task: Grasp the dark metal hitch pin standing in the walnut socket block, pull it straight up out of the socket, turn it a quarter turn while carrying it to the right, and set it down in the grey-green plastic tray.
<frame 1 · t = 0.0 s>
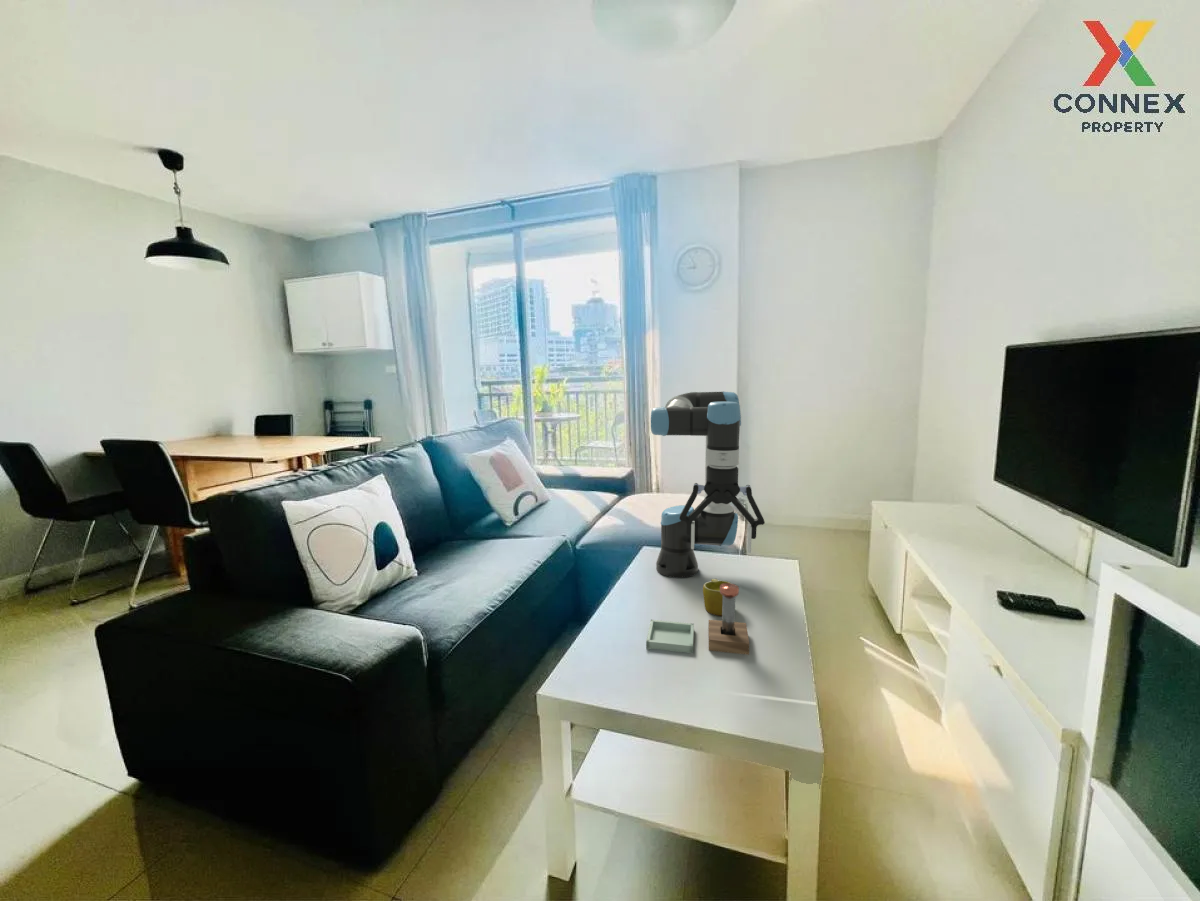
hand: (720, 549, 117), 28 cm above the table, fingers open, 13 cm apart
mug: (718, 608, 143), on the table
hitch pin: (727, 641, 125), resting on socket block
socket block: (727, 643, 125), on the table
tray: (670, 640, 126), on the table
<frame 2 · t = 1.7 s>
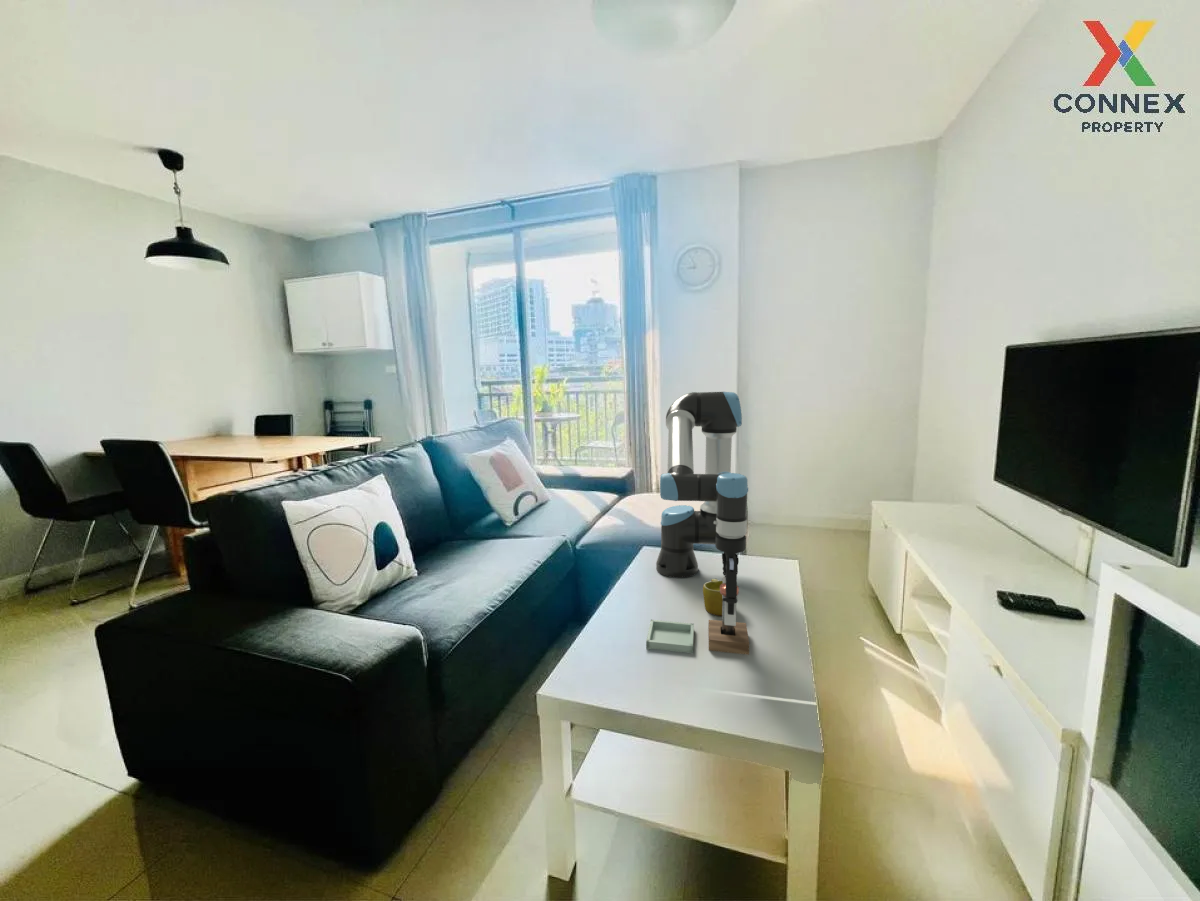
hand: (728, 611, 123), 9 cm above the table, fingers open, 13 cm apart
nothing on the table moved.
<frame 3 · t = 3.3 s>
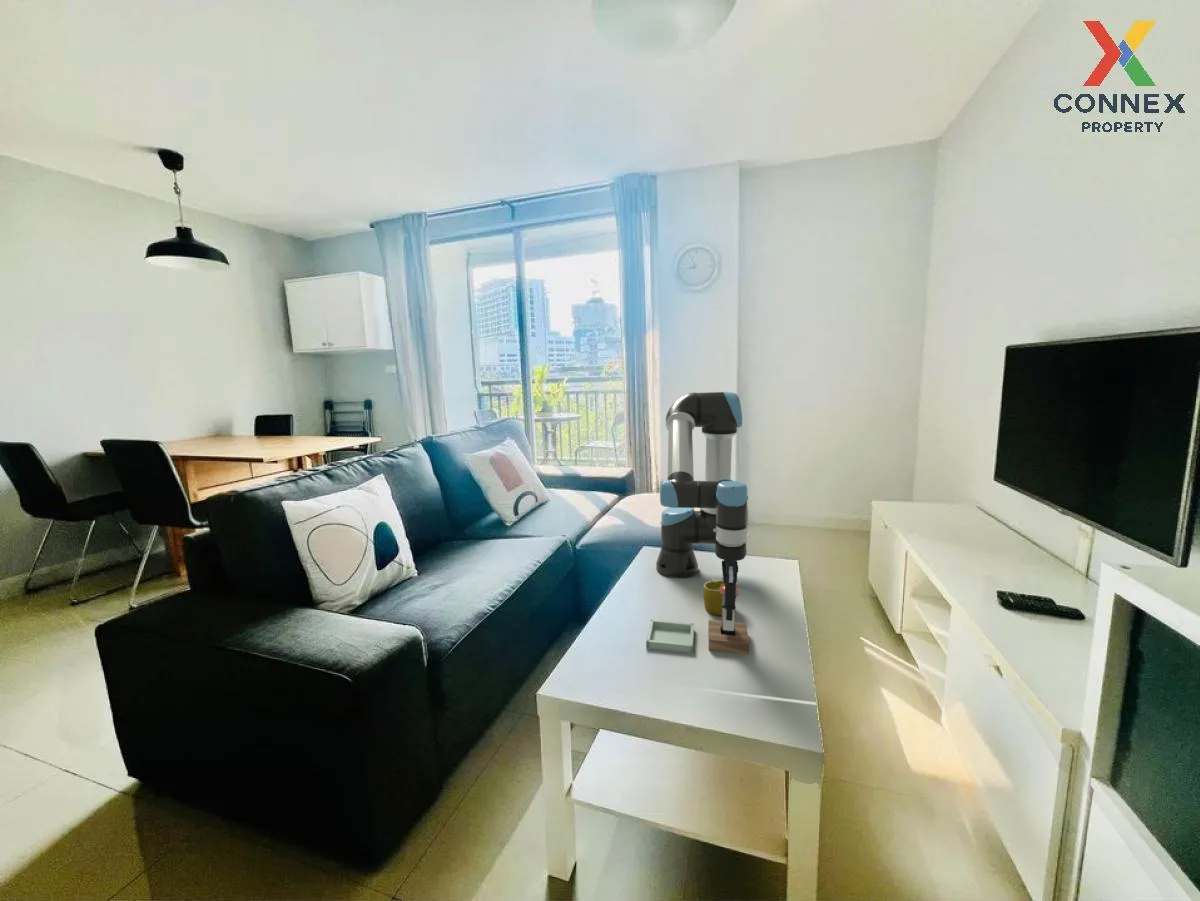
hand: (728, 625, 124), 5 cm above the table, fingers closed on hitch pin, 3 cm apart
hitch pin: (727, 641, 125), point 1 cm above the table, touching gripper, socket block
everything else where it was.
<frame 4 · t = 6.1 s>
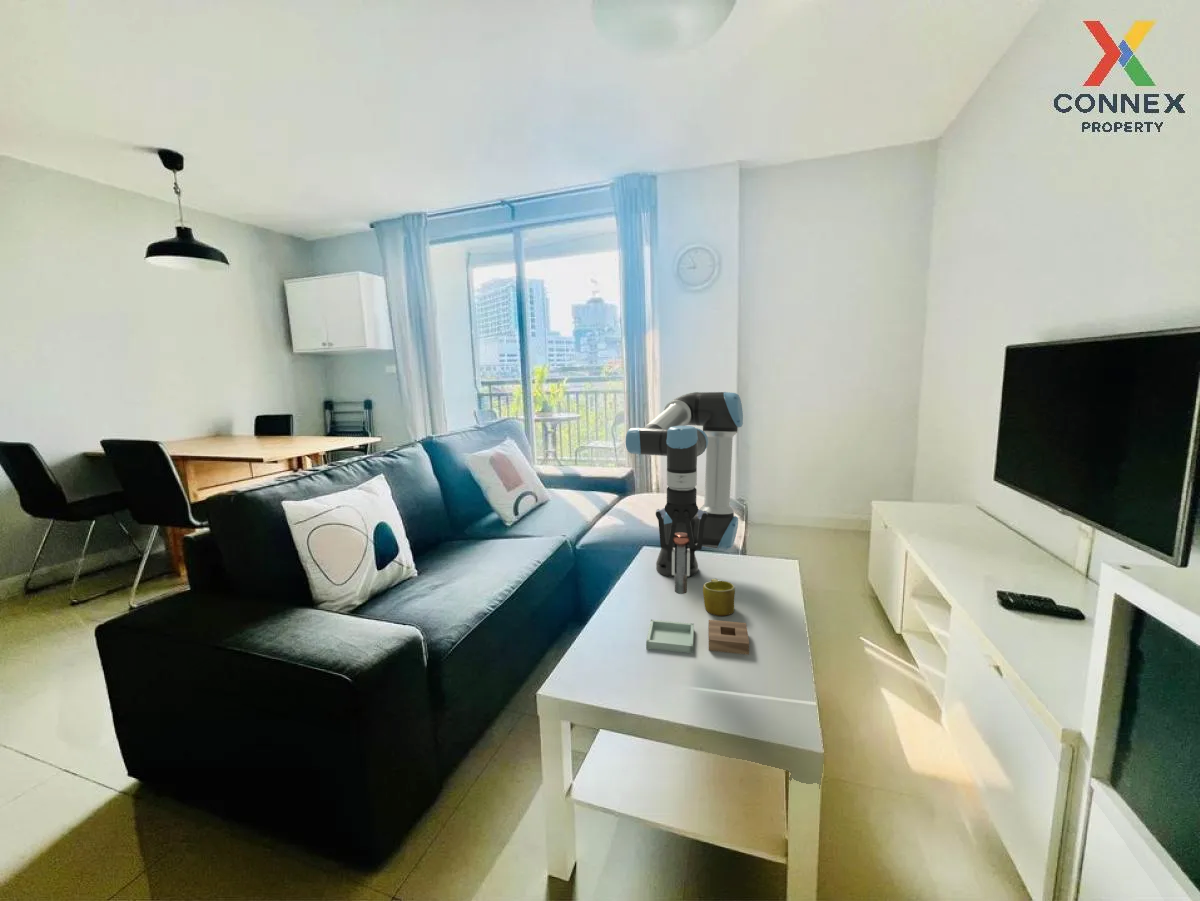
hand: (680, 573, 123), 19 cm above the table, fingers closed on hitch pin, 3 cm apart
hitch pin: (680, 591, 124), point 14 cm above the table, touching gripper
everything else where it was.
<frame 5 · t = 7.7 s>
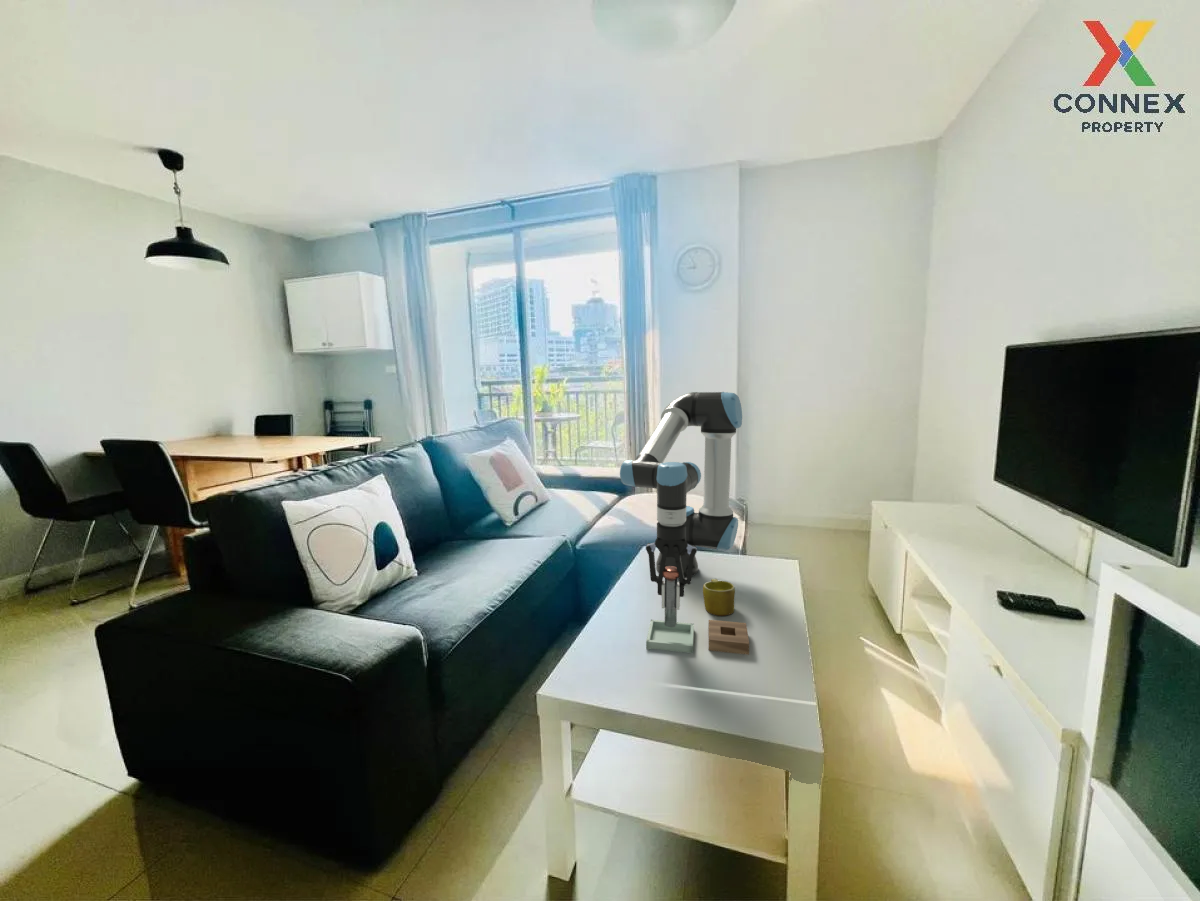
hand: (670, 606, 125), 10 cm above the table, fingers closed on hitch pin, 3 cm apart
hitch pin: (670, 624, 125), point 5 cm above the table, touching gripper
everything else where it was.
when the fingers open (7 cm above the table, at t = 8.8 s): hitch pin stays where it is, resting on tray.
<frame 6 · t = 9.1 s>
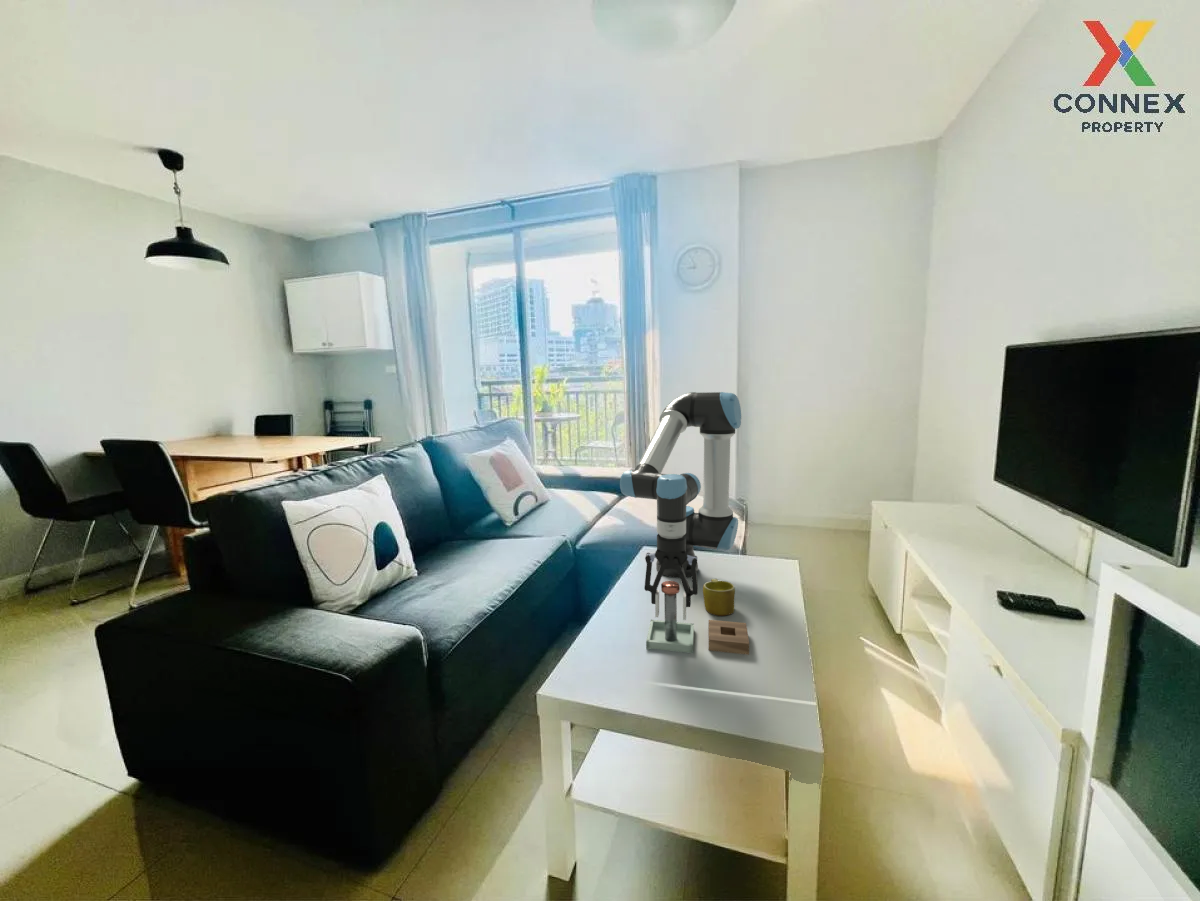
hand: (670, 615, 125), 7 cm above the table, fingers open, 7 cm apart
hitch pin: (670, 638, 126), point 1 cm above the table, touching tray
everything else where it was.
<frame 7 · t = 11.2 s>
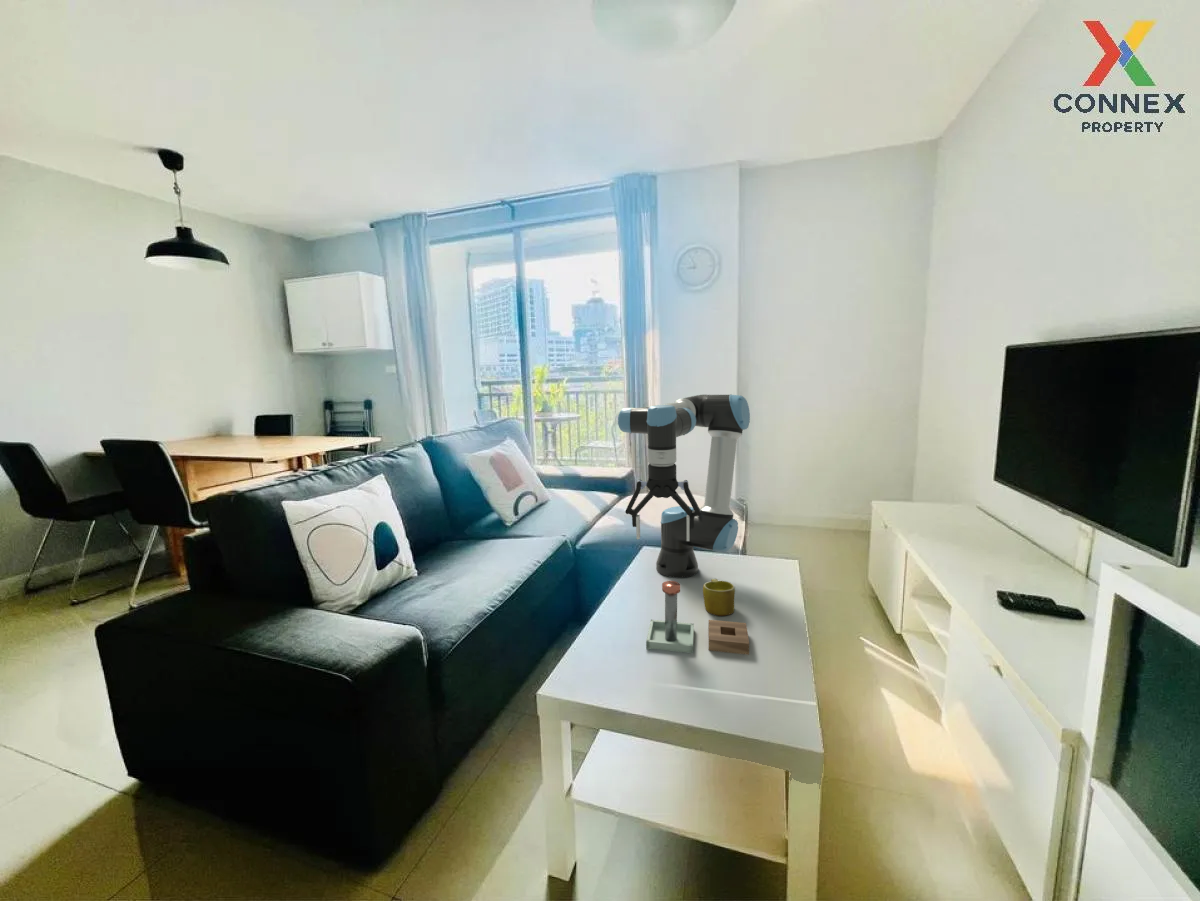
hand: (662, 538, 129), 27 cm above the table, fingers open, 13 cm apart
nothing on the table moved.
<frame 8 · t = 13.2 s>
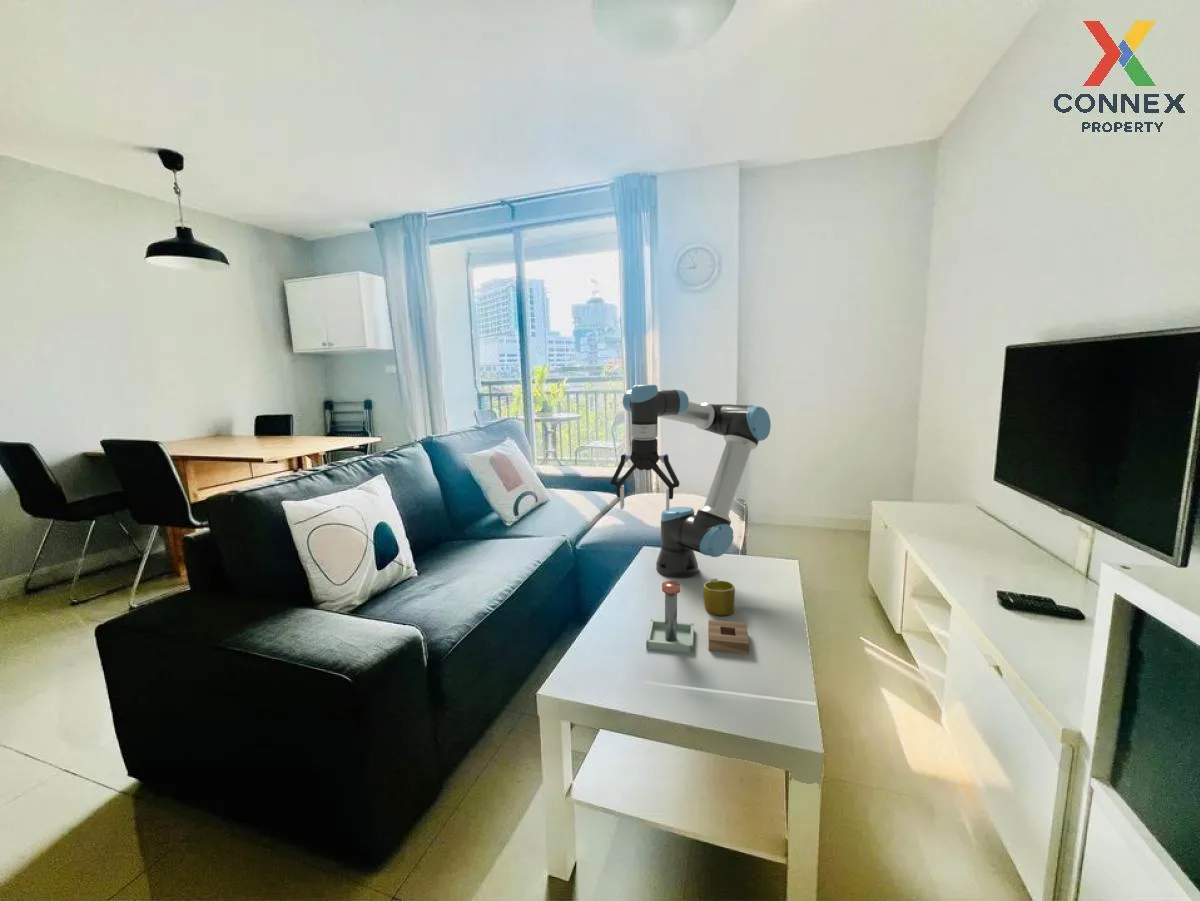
hand: (644, 508, 139), 32 cm above the table, fingers open, 13 cm apart
nothing on the table moved.
at the end: hitch pin inside the target area on the tray (0.0 cm from its centre), point 0.6 cm above the tray's base; hitch pin moved 15.0 cm from its start; the gripper is holding nothing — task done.
